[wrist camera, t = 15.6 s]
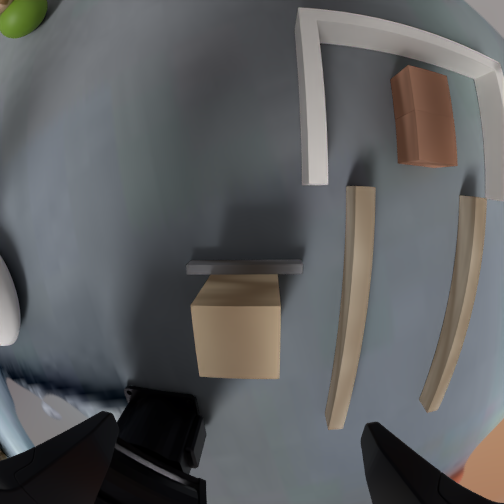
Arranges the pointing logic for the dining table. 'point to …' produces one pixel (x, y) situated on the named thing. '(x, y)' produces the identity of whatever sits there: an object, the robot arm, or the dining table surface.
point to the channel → (357, 295)
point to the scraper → (239, 317)
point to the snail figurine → (21, 16)
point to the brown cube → (426, 140)
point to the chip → (420, 92)
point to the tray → (398, 43)
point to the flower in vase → (8, 307)
